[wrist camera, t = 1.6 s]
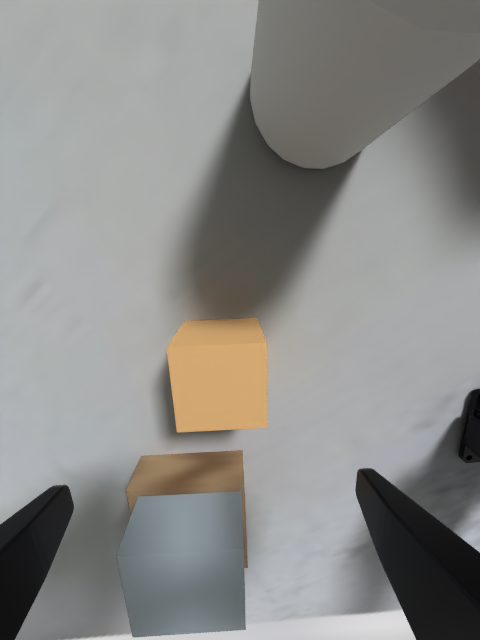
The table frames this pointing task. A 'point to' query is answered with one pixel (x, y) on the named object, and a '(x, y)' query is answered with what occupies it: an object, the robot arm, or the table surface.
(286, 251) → the table surface
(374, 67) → the can
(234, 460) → the walnut base block
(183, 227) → the table surface
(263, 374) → the ochre cube
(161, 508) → the slate block
